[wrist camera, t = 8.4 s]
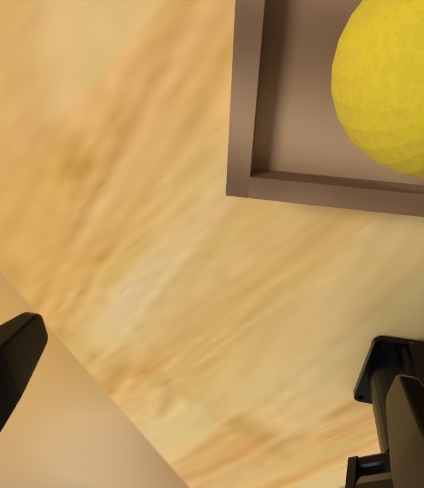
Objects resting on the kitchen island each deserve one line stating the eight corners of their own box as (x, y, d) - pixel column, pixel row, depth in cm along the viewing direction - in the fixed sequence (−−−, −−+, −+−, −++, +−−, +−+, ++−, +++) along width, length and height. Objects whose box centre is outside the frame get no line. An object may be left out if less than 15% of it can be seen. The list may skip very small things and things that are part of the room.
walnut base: (479, 186, 18) (517, 227, 15) (237, 163, 20) (225, 195, 17) (637, -162, 12) (766, -224, 9) (258, -151, 14) (245, -198, 10)
